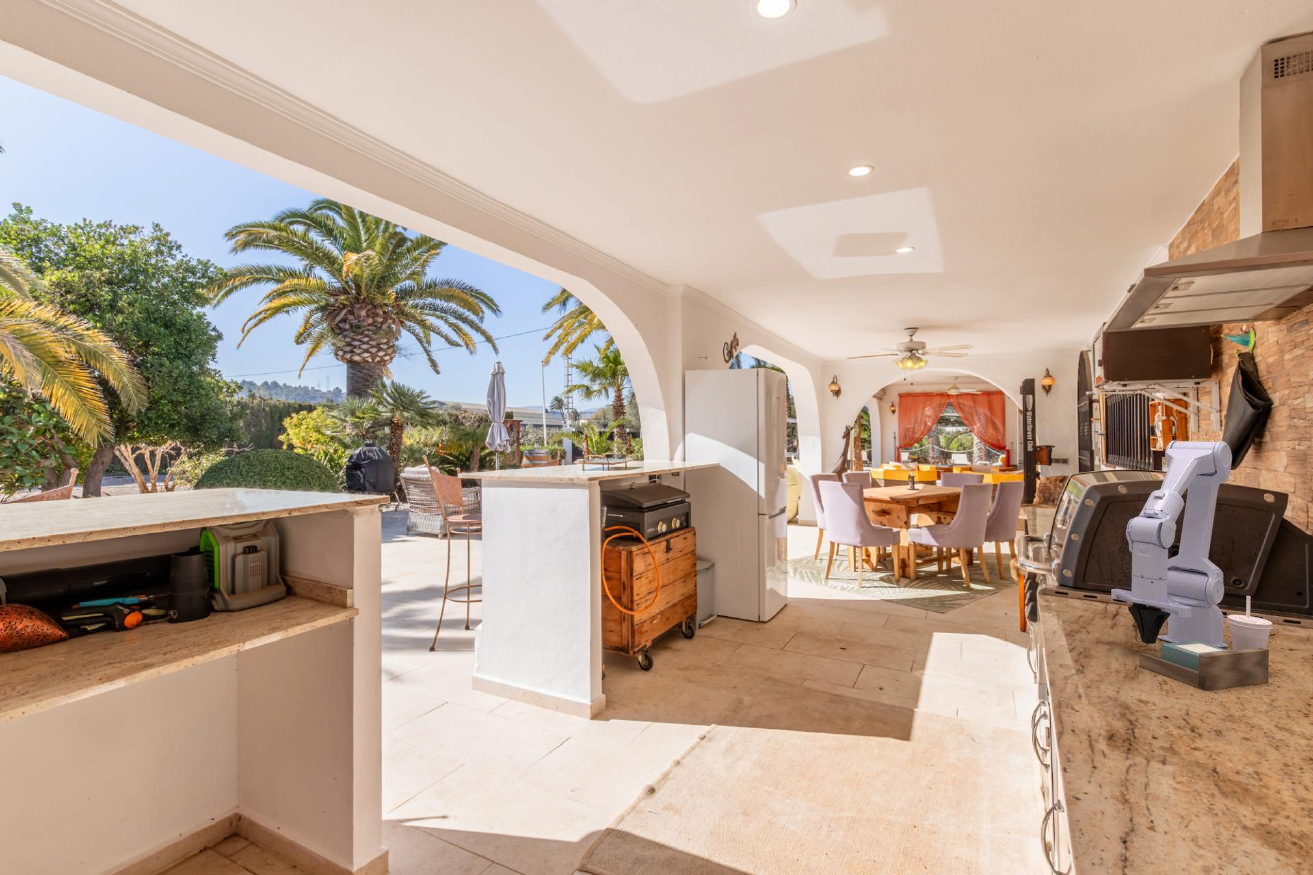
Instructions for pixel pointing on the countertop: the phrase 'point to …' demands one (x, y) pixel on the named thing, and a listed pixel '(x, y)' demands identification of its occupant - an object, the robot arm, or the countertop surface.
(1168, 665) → the display stand
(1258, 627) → the smoothie
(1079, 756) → the countertop surface
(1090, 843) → the countertop surface
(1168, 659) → the carton
